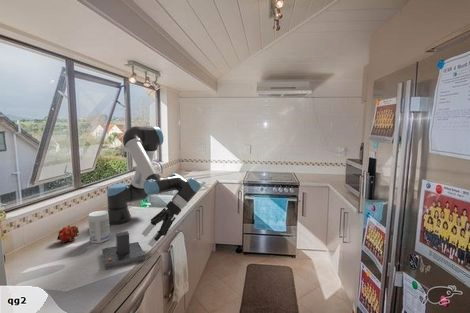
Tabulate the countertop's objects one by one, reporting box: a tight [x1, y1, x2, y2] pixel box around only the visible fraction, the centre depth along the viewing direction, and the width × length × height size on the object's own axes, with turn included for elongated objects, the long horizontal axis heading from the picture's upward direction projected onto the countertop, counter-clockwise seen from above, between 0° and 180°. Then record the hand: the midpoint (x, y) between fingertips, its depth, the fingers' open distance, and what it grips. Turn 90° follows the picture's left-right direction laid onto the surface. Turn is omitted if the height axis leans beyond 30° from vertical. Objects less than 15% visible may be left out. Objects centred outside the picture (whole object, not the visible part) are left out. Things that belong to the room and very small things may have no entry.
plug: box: [115, 230, 130, 255], centre depth 120 cm, size 4×5×11 cm
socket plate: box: [101, 241, 146, 270], centre depth 121 cm, size 16×16×3 cm
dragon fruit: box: [56, 225, 80, 244], centre depth 138 cm, size 8×8×12 cm
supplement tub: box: [87, 210, 111, 244], centre depth 139 cm, size 10×10×15 cm
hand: (146, 240), depth 125 cm, fingers open, 13 cm apart
